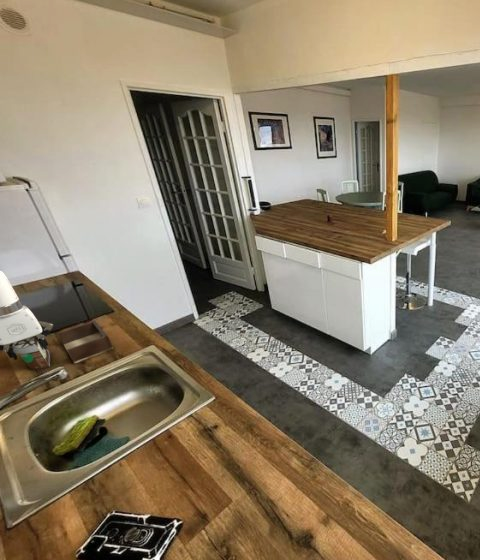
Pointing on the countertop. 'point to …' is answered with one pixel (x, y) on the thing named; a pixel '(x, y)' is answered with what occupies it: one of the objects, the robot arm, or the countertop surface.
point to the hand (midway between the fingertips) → (30, 352)
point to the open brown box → (85, 341)
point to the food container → (32, 353)
